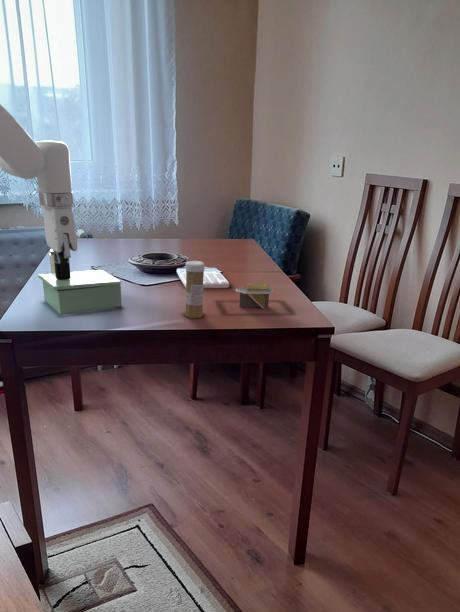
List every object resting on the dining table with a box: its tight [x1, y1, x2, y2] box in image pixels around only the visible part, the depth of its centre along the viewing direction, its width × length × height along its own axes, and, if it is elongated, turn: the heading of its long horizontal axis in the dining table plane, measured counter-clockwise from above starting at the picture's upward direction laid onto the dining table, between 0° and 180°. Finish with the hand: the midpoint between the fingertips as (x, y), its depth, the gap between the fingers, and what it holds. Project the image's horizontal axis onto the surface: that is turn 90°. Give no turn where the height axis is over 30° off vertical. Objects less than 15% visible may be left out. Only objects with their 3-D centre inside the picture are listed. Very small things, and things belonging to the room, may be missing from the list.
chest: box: [42, 281, 123, 315], centre depth 141 cm, size 16×13×6 cm
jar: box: [49, 248, 55, 273], centre depth 153 cm, size 5×5×11 cm
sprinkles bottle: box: [184, 260, 205, 319], centre depth 137 cm, size 5×5×14 cm
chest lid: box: [37, 269, 121, 290], centre depth 139 cm, size 17×13×1 cm
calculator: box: [176, 267, 230, 289], centre depth 171 cm, size 13×20×2 cm, turn 13°
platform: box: [235, 282, 274, 310], centre depth 147 cm, size 12×18×7 cm, turn 100°
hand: (63, 278), depth 137 cm, fingers closed
